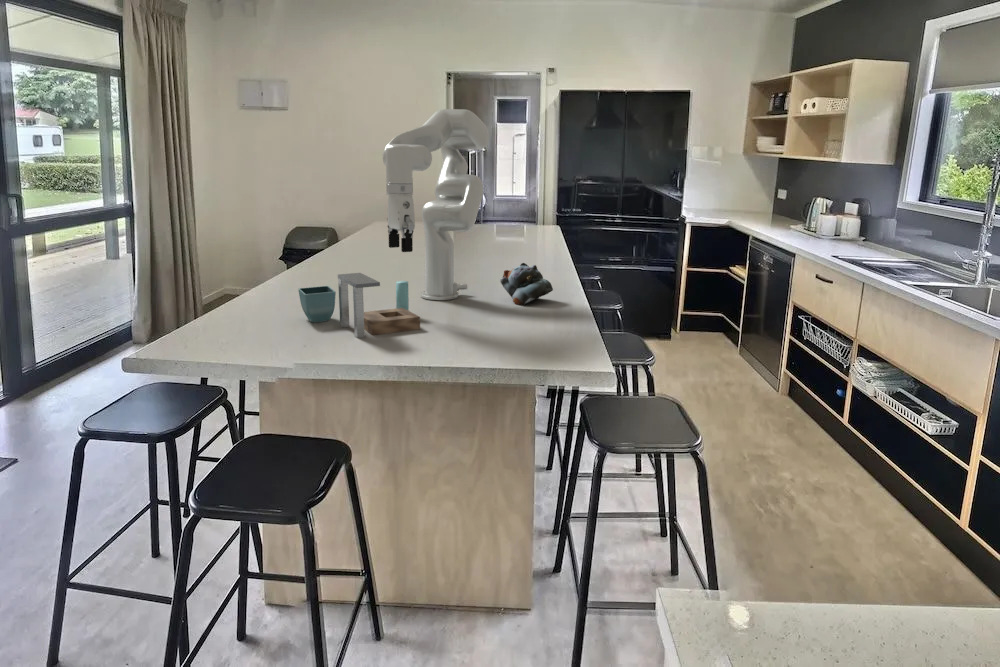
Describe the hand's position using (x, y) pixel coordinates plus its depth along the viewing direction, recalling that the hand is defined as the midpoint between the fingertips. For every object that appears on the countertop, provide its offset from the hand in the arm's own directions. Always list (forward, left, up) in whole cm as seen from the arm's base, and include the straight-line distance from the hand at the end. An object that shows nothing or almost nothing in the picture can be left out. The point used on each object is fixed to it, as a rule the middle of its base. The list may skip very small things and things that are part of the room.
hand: (400, 249), depth 208 cm
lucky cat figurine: (-44, +1, -20) cm, 48 cm away
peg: (0, 0, -20) cm, 20 cm away
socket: (+9, +11, -20) cm, 24 cm away
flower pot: (+24, -5, -20) cm, 31 cm away
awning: (+17, +11, -20) cm, 28 cm away
